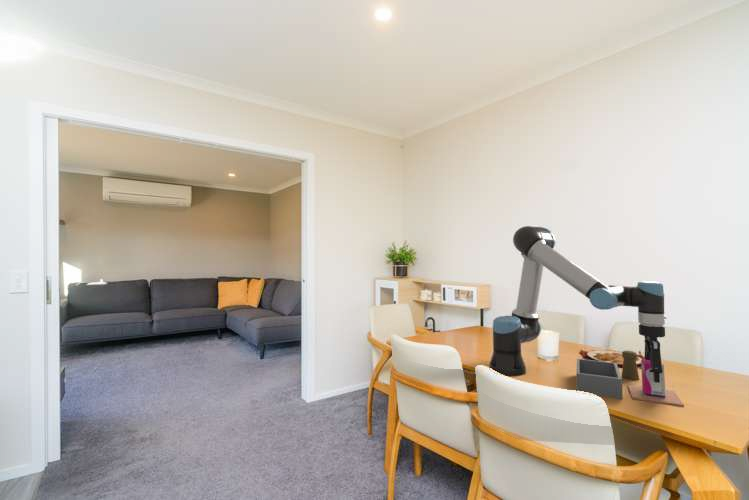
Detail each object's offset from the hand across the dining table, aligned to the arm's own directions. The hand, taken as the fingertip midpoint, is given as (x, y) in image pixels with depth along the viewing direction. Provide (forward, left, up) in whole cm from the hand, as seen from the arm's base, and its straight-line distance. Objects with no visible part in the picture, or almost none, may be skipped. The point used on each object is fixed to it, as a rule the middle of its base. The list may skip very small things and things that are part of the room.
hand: (653, 385), depth 128 cm
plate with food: (-8, +45, -4) cm, 46 cm away
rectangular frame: (-17, +2, -4) cm, 17 cm away
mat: (0, 0, -4) cm, 4 cm away
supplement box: (0, 0, -3) cm, 3 cm away
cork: (-5, +19, -4) cm, 20 cm away
